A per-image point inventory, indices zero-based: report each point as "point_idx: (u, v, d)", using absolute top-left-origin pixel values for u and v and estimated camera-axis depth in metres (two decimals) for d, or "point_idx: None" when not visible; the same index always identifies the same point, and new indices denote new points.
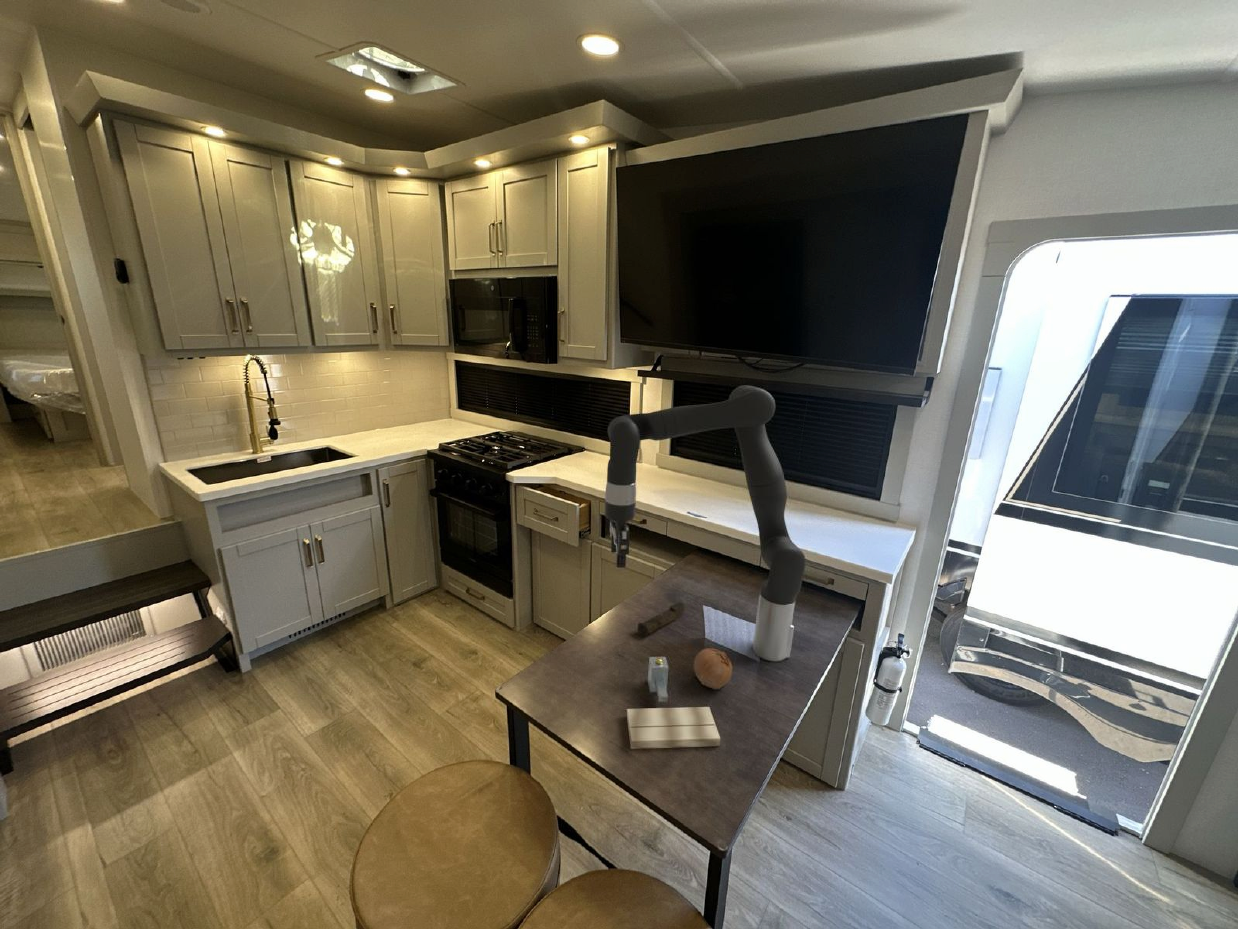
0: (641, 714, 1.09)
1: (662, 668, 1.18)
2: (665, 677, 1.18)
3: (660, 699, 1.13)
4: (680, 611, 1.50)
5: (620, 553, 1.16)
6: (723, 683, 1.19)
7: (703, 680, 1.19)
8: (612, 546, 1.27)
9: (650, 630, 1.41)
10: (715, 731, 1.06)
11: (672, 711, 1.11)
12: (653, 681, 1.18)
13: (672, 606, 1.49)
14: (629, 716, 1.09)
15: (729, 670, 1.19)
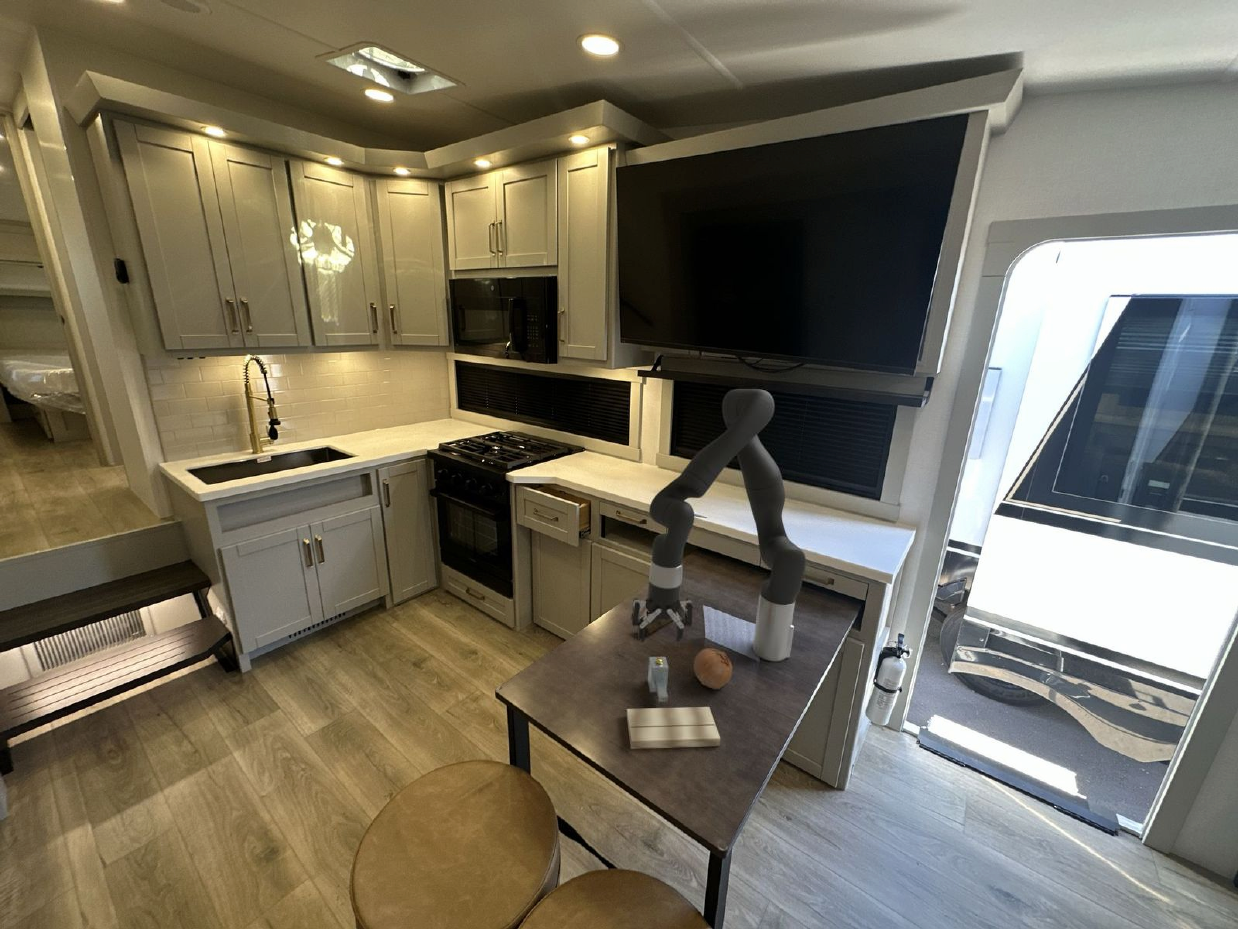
0: (641, 714, 1.09)
1: (662, 668, 1.18)
2: (665, 677, 1.18)
3: (660, 699, 1.13)
4: (680, 611, 1.50)
5: None
6: (723, 683, 1.19)
7: (703, 680, 1.19)
8: (644, 635, 1.16)
9: (650, 630, 1.41)
10: (715, 731, 1.06)
11: (672, 711, 1.11)
12: (653, 681, 1.18)
13: None
14: (629, 716, 1.09)
15: (729, 670, 1.19)
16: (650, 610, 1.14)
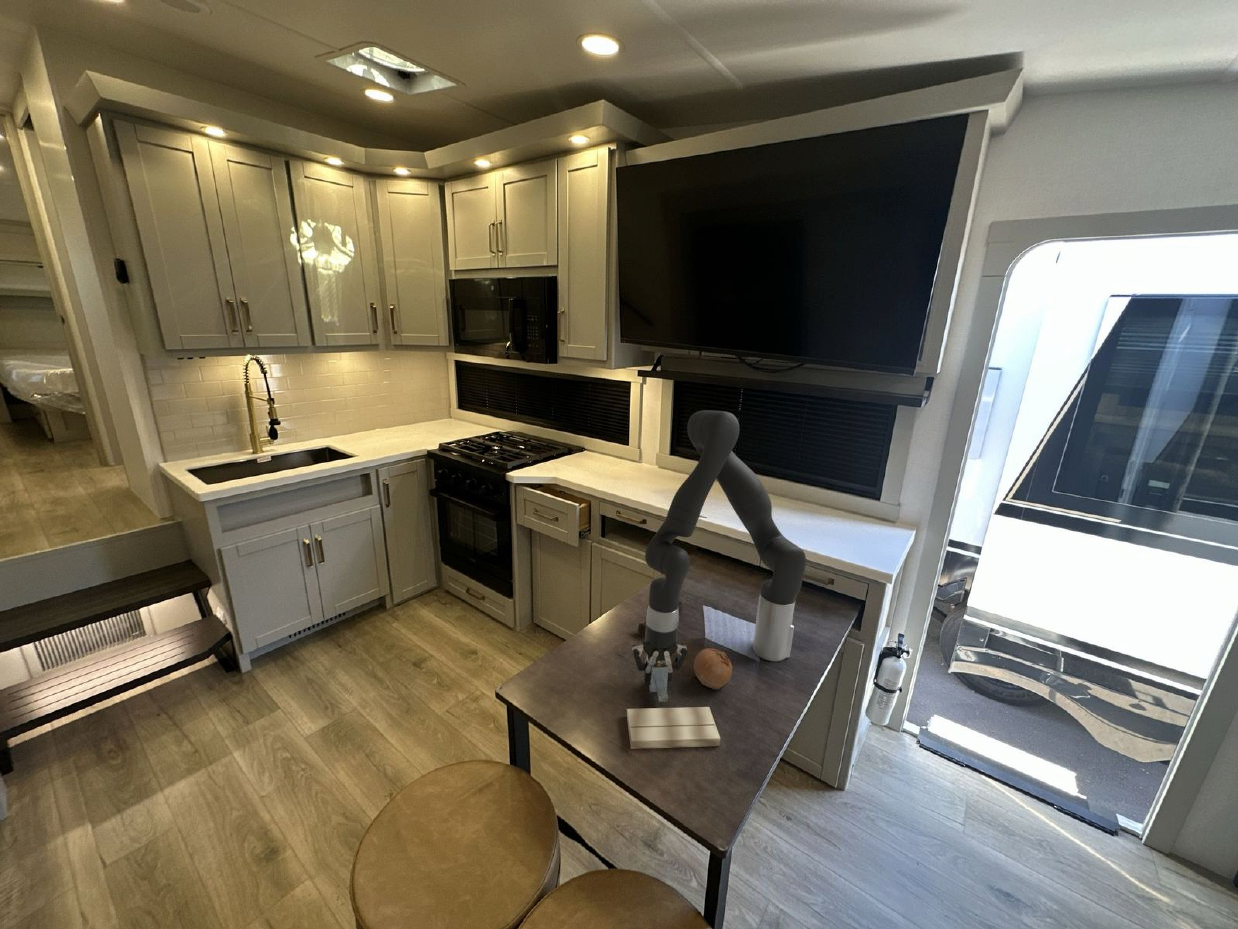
0: (641, 714, 1.09)
1: (662, 668, 1.18)
2: (665, 677, 1.18)
3: (660, 699, 1.13)
4: (679, 610, 1.50)
5: None
6: (723, 683, 1.19)
7: (703, 680, 1.19)
8: None
9: None
10: (715, 731, 1.06)
11: (672, 711, 1.11)
12: (653, 681, 1.18)
13: None
14: (629, 716, 1.09)
15: (729, 670, 1.19)
16: (649, 654, 1.17)
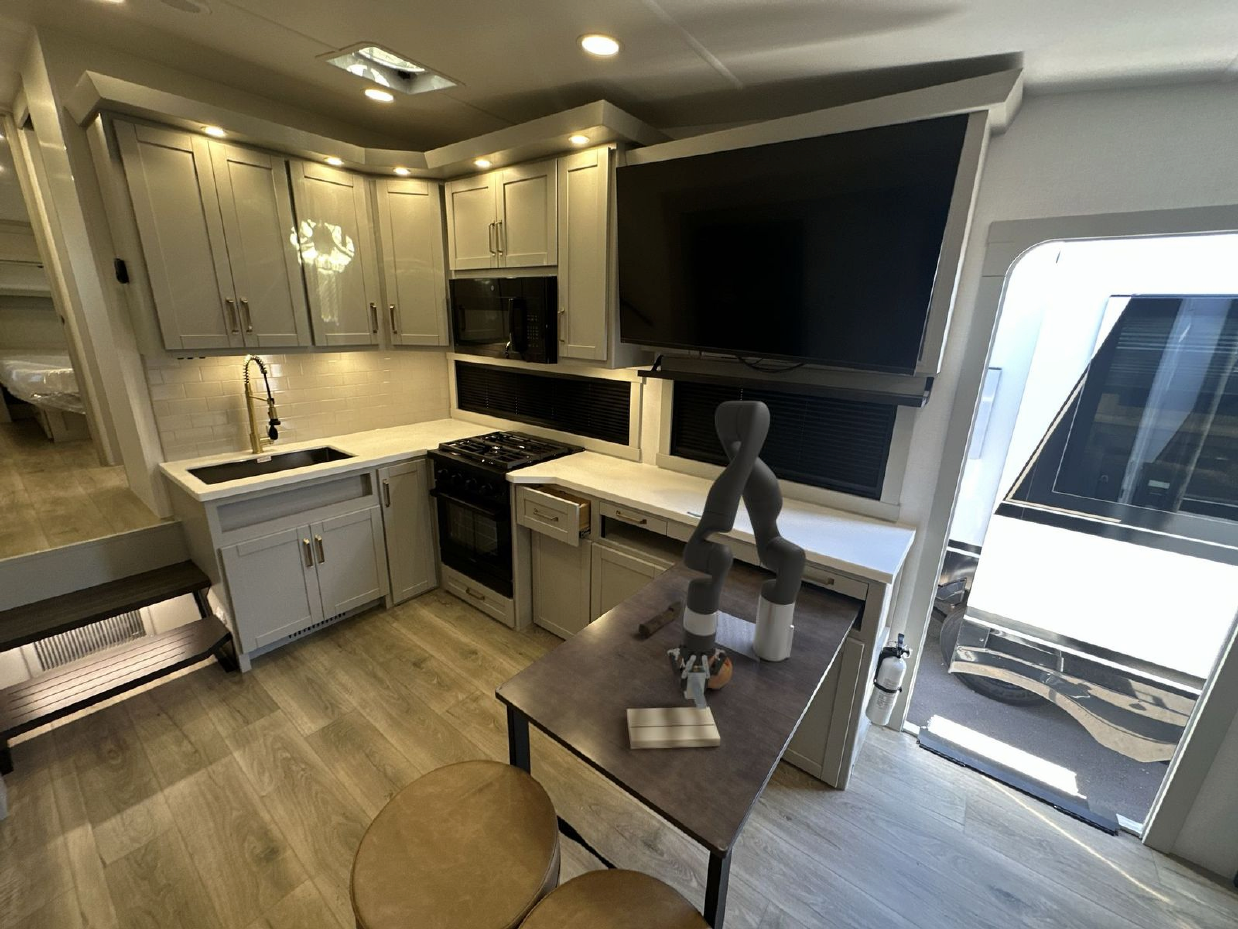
0: (641, 714, 1.09)
1: (699, 674, 1.11)
2: (702, 683, 1.12)
3: (698, 706, 1.06)
4: (678, 610, 1.50)
5: None
6: (723, 683, 1.19)
7: None
8: None
9: (651, 631, 1.41)
10: (715, 731, 1.06)
11: (672, 711, 1.11)
12: (689, 687, 1.12)
13: (671, 605, 1.50)
14: (629, 716, 1.09)
15: (729, 670, 1.19)
16: (685, 659, 1.11)
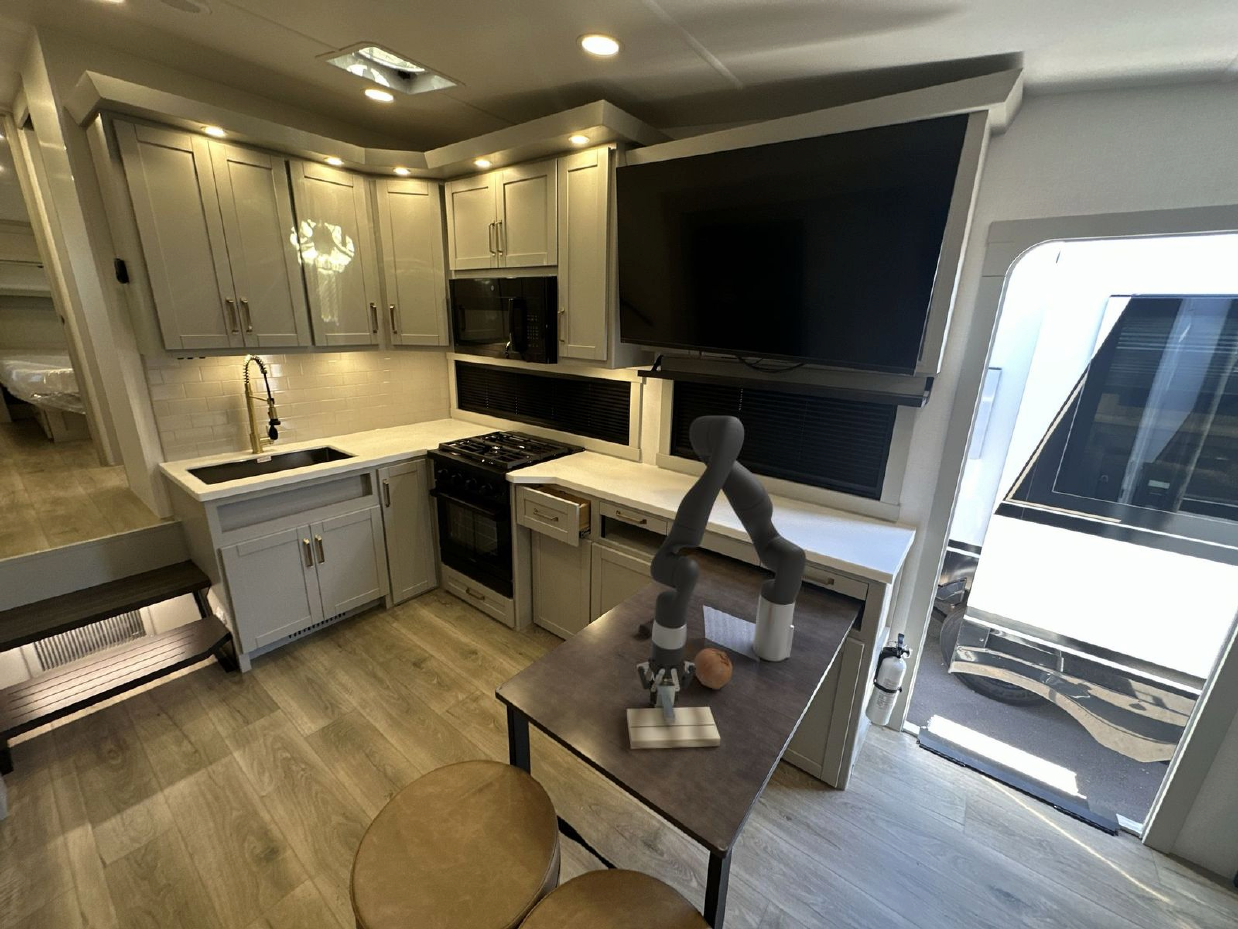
0: (641, 714, 1.09)
1: (669, 687, 1.11)
2: (672, 696, 1.11)
3: (667, 720, 1.06)
4: None
5: None
6: (723, 683, 1.19)
7: (703, 680, 1.19)
8: None
9: None
10: (715, 731, 1.06)
11: None
12: (659, 700, 1.11)
13: None
14: (629, 716, 1.09)
15: (729, 670, 1.19)
16: (654, 672, 1.10)
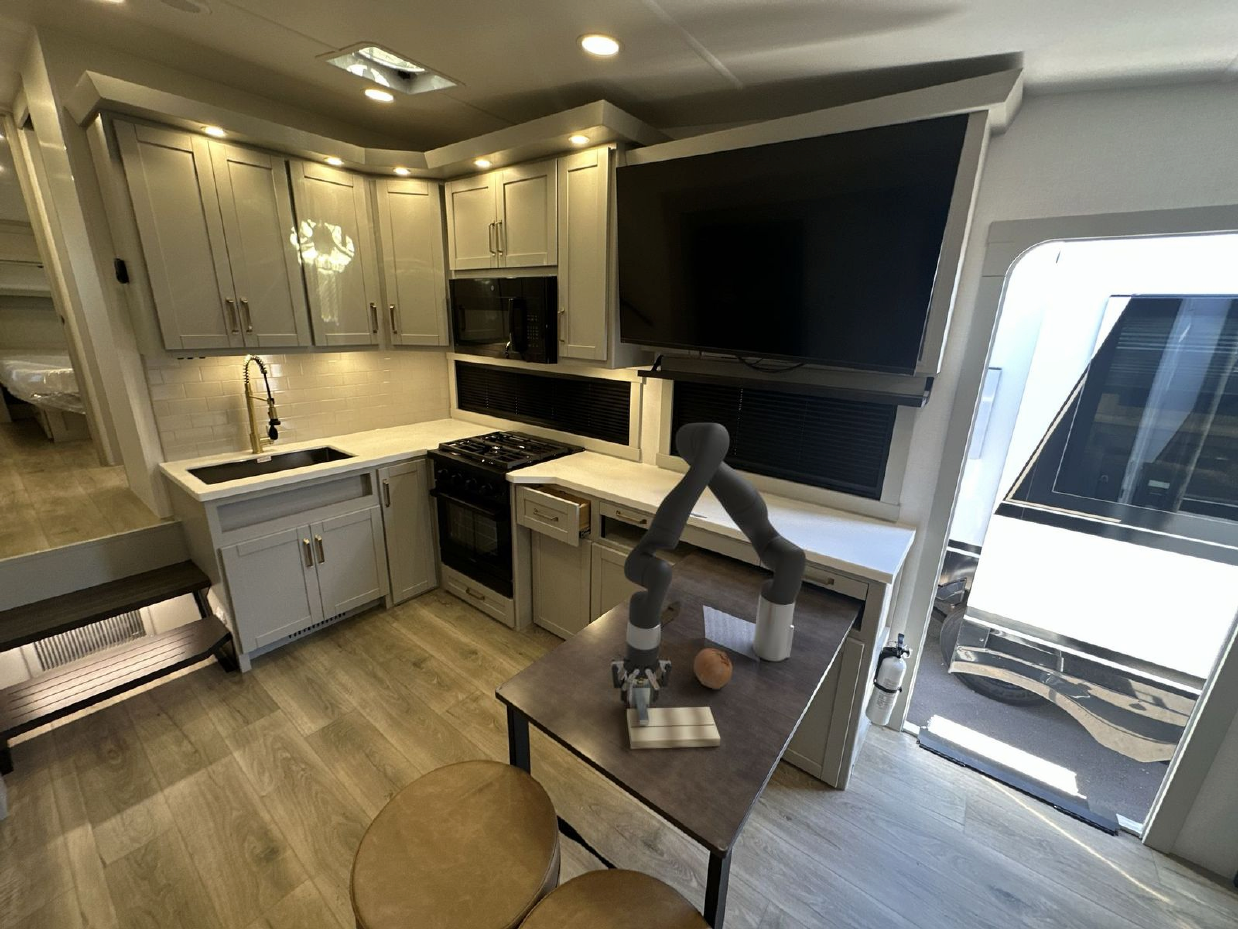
0: None
1: (644, 689, 1.11)
2: (647, 698, 1.11)
3: (641, 722, 1.06)
4: (678, 610, 1.51)
5: None
6: (723, 683, 1.19)
7: (703, 680, 1.19)
8: (626, 697, 1.12)
9: None
10: (715, 731, 1.06)
11: (672, 711, 1.11)
12: (634, 702, 1.11)
13: (670, 605, 1.50)
14: (629, 716, 1.09)
15: (729, 670, 1.19)
16: (628, 671, 1.10)
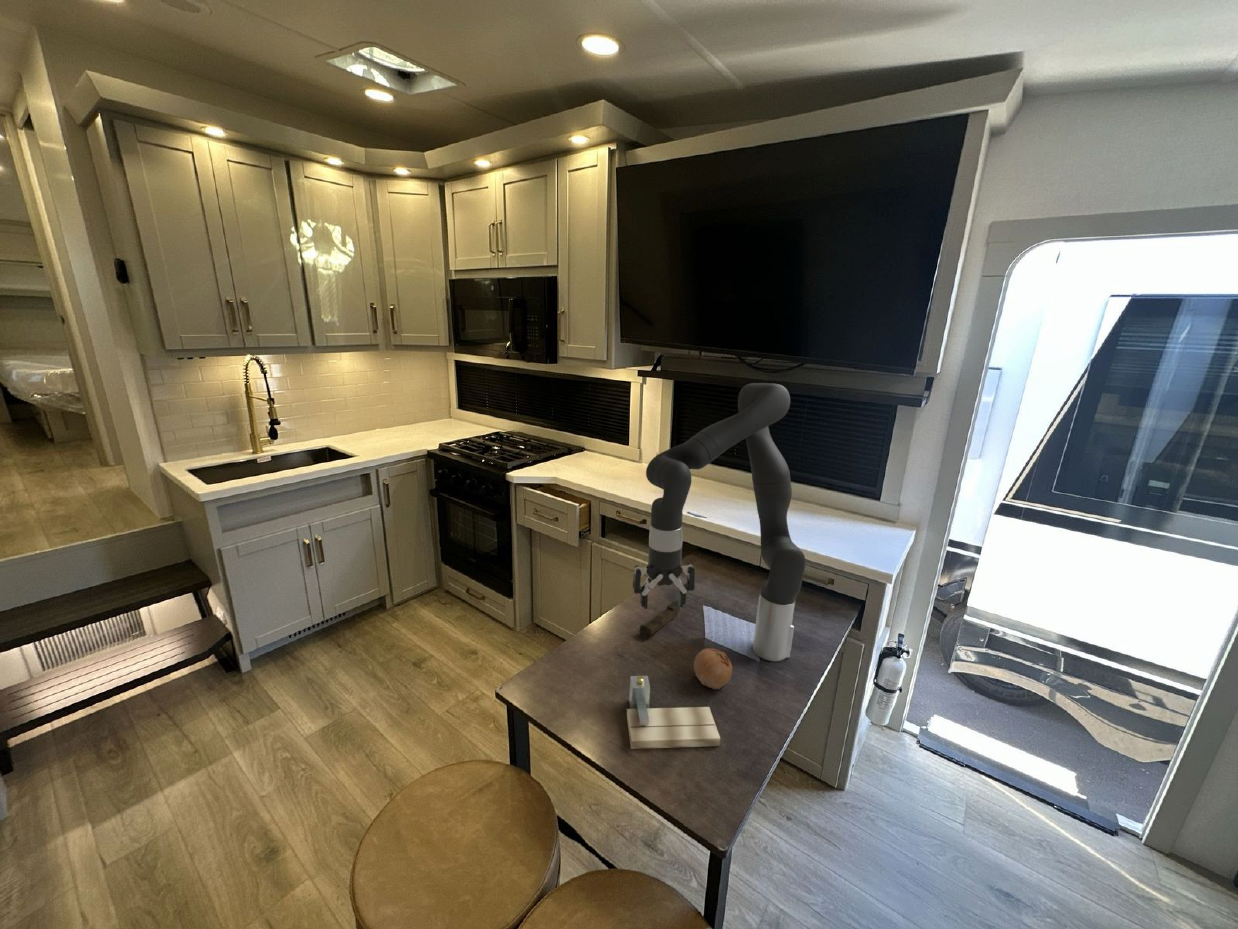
0: None
1: (644, 689, 1.11)
2: (647, 698, 1.11)
3: (641, 722, 1.06)
4: (677, 609, 1.51)
5: None
6: (723, 683, 1.19)
7: (703, 680, 1.19)
8: (647, 602, 1.14)
9: (653, 631, 1.40)
10: (715, 731, 1.06)
11: (672, 711, 1.11)
12: (634, 702, 1.11)
13: (669, 605, 1.50)
14: (629, 716, 1.09)
15: (729, 670, 1.19)
16: (652, 576, 1.12)
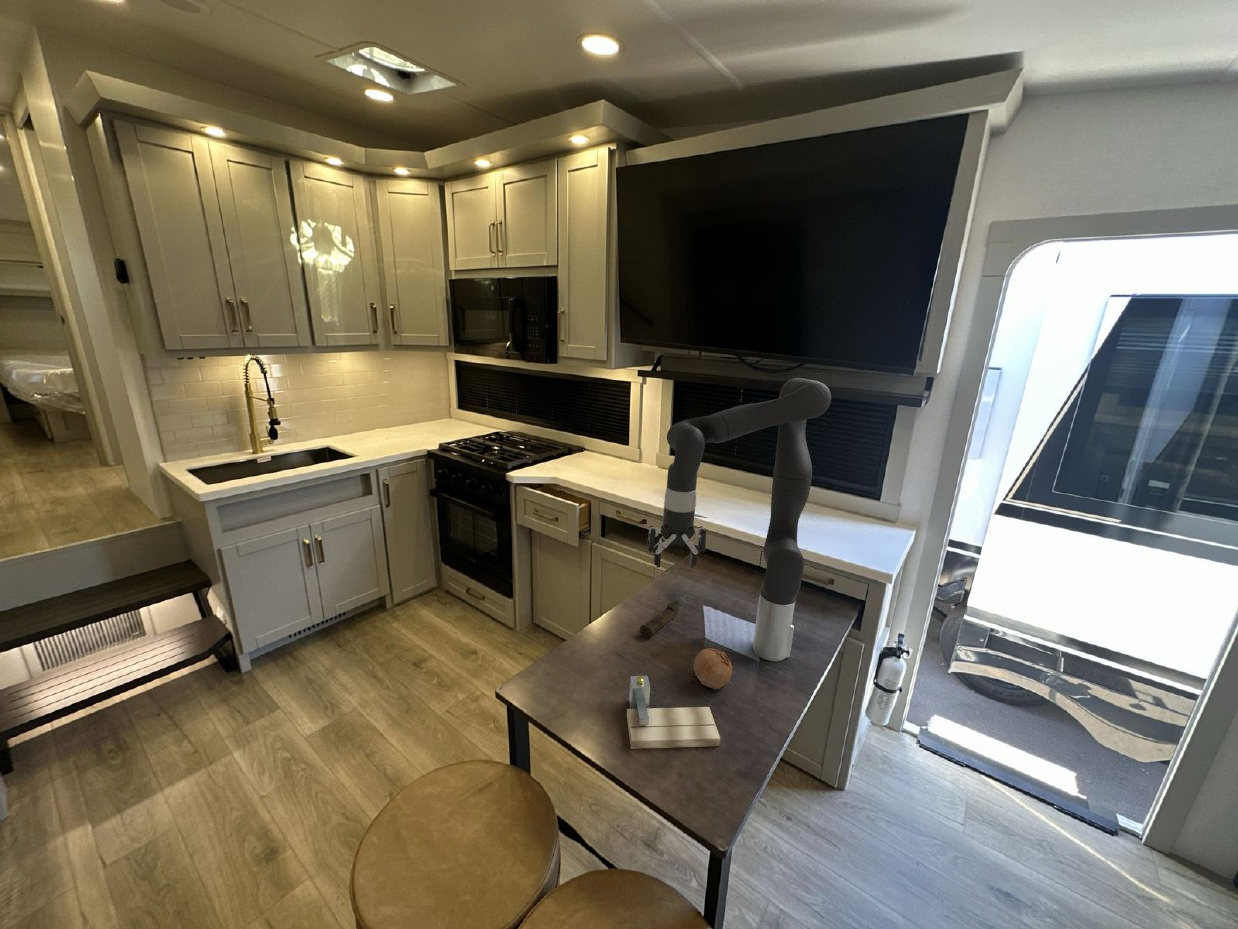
0: None
1: (644, 689, 1.11)
2: (647, 698, 1.11)
3: (641, 722, 1.06)
4: (677, 609, 1.51)
5: None
6: (723, 683, 1.19)
7: (703, 680, 1.19)
8: None
9: (653, 631, 1.40)
10: (715, 731, 1.06)
11: (672, 711, 1.11)
12: (634, 702, 1.11)
13: (669, 605, 1.50)
14: (629, 716, 1.09)
15: (729, 670, 1.19)
16: (665, 536, 1.19)
